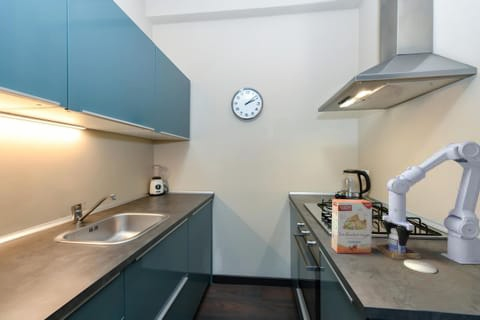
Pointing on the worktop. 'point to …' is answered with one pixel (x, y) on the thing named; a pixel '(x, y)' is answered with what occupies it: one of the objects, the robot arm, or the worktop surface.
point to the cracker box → (351, 226)
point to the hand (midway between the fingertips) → (396, 242)
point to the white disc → (420, 266)
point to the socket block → (411, 254)
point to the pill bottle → (395, 243)
